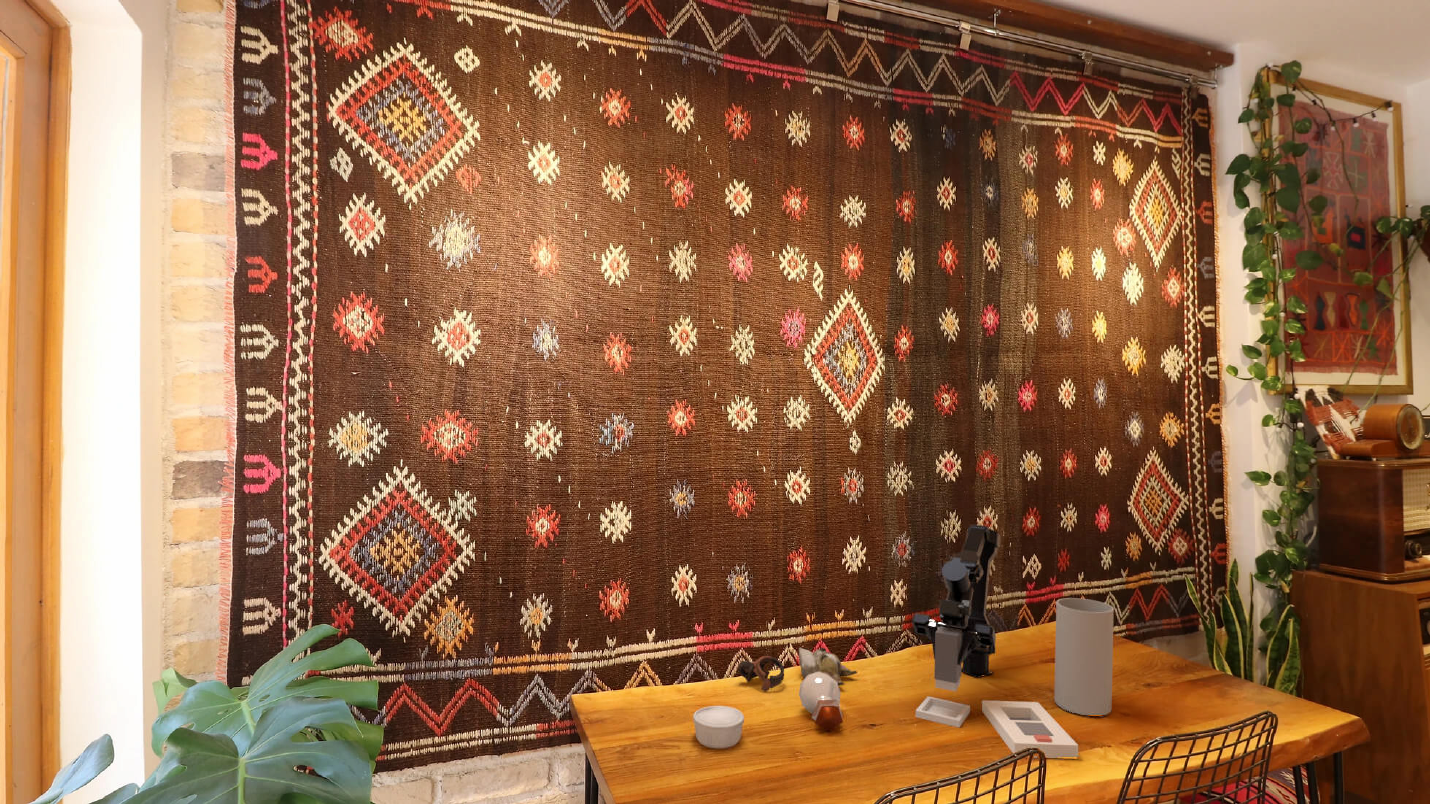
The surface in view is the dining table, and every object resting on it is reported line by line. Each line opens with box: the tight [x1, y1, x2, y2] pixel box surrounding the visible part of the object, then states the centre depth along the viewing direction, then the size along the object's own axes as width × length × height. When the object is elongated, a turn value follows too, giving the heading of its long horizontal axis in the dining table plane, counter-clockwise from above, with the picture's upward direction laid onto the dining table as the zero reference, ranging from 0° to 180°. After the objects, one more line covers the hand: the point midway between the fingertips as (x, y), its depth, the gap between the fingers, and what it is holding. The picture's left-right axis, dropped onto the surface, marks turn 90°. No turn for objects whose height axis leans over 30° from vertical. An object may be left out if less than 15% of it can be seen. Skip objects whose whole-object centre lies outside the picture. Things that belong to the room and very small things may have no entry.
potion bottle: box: [798, 671, 844, 733], centre depth 175 cm, size 10×10×15 cm
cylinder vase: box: [1054, 597, 1115, 716], centre depth 184 cm, size 12×12×25 cm
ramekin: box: [692, 705, 745, 750], centre depth 164 cm, size 11×11×5 cm
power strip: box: [981, 699, 1079, 759], centre depth 168 cm, size 22×13×4 cm, turn 177°
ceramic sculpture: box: [798, 647, 858, 686], centre depth 199 cm, size 11×9×15 cm
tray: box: [915, 696, 971, 728], centre depth 177 cm, size 10×10×2 cm
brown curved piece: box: [737, 655, 785, 693], centre depth 195 cm, size 12×10×8 cm
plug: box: [934, 626, 962, 692], centre depth 177 cm, size 5×5×13 cm
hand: (947, 662), depth 175 cm, fingers closed on plug, 5 cm apart
